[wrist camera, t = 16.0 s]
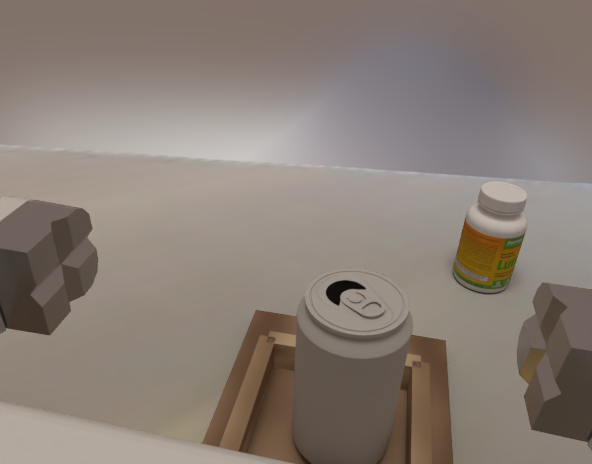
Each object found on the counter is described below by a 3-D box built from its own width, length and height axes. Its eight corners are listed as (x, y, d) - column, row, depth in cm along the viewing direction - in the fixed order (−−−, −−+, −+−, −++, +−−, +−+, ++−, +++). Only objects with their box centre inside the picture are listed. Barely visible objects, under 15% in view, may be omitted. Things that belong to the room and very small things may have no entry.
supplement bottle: (494, 302, 48) (523, 212, 43) (442, 278, 51) (462, 191, 46) (516, 277, 52) (545, 191, 47) (466, 255, 55) (488, 172, 50)
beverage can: (338, 383, 38) (353, 249, 32) (408, 442, 34) (441, 301, 28) (271, 431, 35) (273, 291, 28) (340, 503, 31) (360, 358, 24)
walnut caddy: (146, 596, 27) (138, 563, 25) (256, 318, 45) (255, 287, 44) (461, 676, 25) (477, 646, 23) (443, 349, 43) (451, 317, 41)
